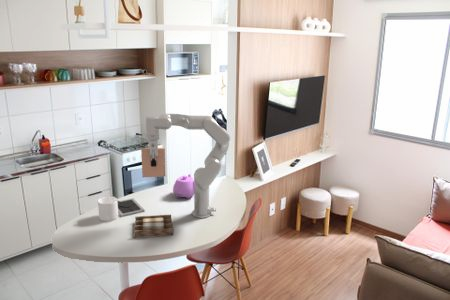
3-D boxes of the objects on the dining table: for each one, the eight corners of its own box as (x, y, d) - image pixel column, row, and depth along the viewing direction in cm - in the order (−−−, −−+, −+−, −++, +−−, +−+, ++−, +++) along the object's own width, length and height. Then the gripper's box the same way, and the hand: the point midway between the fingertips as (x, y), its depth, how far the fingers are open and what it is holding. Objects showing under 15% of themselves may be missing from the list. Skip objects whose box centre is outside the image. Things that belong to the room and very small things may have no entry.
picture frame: (111, 205, 267) (121, 218, 250) (110, 202, 266) (121, 214, 249) (133, 200, 275) (144, 212, 258) (133, 197, 274) (144, 208, 258)
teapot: (204, 190, 293) (204, 172, 289) (196, 201, 275) (196, 182, 270) (179, 187, 298) (179, 169, 293) (170, 198, 279) (169, 178, 274)
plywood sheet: (165, 174, 246) (164, 147, 241) (165, 176, 244) (164, 148, 238) (142, 175, 243) (141, 148, 238) (142, 177, 241) (141, 149, 236)
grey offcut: (164, 231, 234) (163, 222, 233) (163, 235, 231) (163, 225, 229) (143, 232, 233) (143, 223, 231) (143, 235, 229) (142, 226, 227)
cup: (118, 212, 256) (117, 195, 253) (118, 220, 245) (117, 203, 242) (99, 213, 254) (98, 196, 250) (98, 222, 243) (97, 204, 239)
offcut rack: (171, 220, 248) (171, 214, 247) (172, 235, 230) (172, 228, 229) (135, 222, 244) (135, 216, 243) (134, 237, 227) (134, 231, 225)
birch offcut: (163, 226, 240) (163, 217, 239) (163, 229, 237) (163, 220, 235) (143, 227, 238) (143, 218, 236) (143, 230, 234) (143, 221, 233)
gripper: (159, 140, 229) (160, 169, 235) (158, 133, 244) (159, 161, 250) (146, 140, 228) (147, 170, 233) (146, 133, 243) (147, 161, 248)
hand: (153, 165), depth 241 cm, fingers closed on plywood sheet, 2 cm apart
